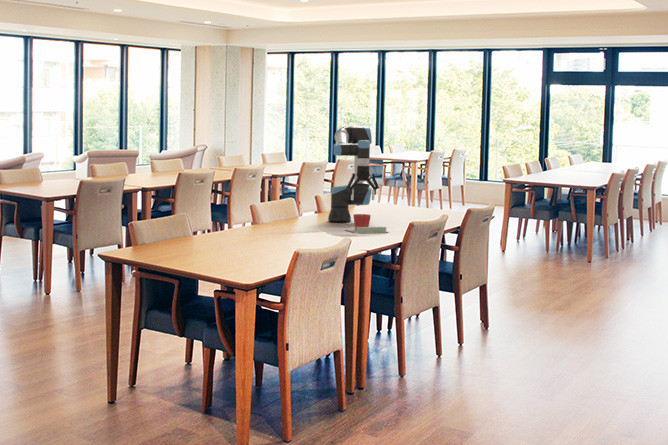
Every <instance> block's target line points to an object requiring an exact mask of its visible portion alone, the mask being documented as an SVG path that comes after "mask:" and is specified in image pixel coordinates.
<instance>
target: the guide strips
mask: <svg viewBox="0 0 668 445" xmlns="http://www.w3.org/2000/svg"><path fill="white" fill-rule="evenodd" d="M344 231H346V232H348V233H352V234H356V232H354V231H351V230H348V229H344ZM387 233H390V231H386V233H385V234H387Z"/></svg>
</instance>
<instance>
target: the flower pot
mask: <svg viewBox="0 0 668 445" xmlns="http://www.w3.org/2000/svg"><path fill="white" fill-rule="evenodd" d="M371 216H372V215H371V214H362V213H355V214H353V223H354V228H355V231H356V227H370V222H371Z"/></svg>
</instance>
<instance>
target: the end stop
mask: <svg viewBox="0 0 668 445" xmlns="http://www.w3.org/2000/svg"><path fill="white" fill-rule="evenodd" d="M355 231H356V232H355V234H387V233H386V232H387V226H369V227H356V230H355Z"/></svg>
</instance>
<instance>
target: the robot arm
mask: <svg viewBox="0 0 668 445" xmlns="http://www.w3.org/2000/svg"><path fill="white" fill-rule="evenodd" d="M334 140H335V143H334V144H333V155H334V156H337V157H339V156H340V157H351V156H352V157H354V166H353V167H354V169H353V170H354V172H353V173H351V177H350V179H349V181H348V183H347V184H346V185H338V186H337V185H336V186H333V187H331V191H330V196H331V197H330V198H331V199H330V210H329V213H328V216H327V220H328V221H330V222H351V221H352V217H351V214H350V210H349V206H369V205H370V202H371V201H375V196H376V195H377V190H378V189H380V186H379V183H378V182H377V179H376V176H375V173H370V159H371V158H370V152H371V151H370V150H371V144H372V143H373V138H372V130H371V128H370V126H367V125H366V126H365V125H345V126H343V127H340V128H338V129H337V130H336V131H335V133H334ZM370 178H371V179H372V181H371V179H370Z"/></svg>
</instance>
